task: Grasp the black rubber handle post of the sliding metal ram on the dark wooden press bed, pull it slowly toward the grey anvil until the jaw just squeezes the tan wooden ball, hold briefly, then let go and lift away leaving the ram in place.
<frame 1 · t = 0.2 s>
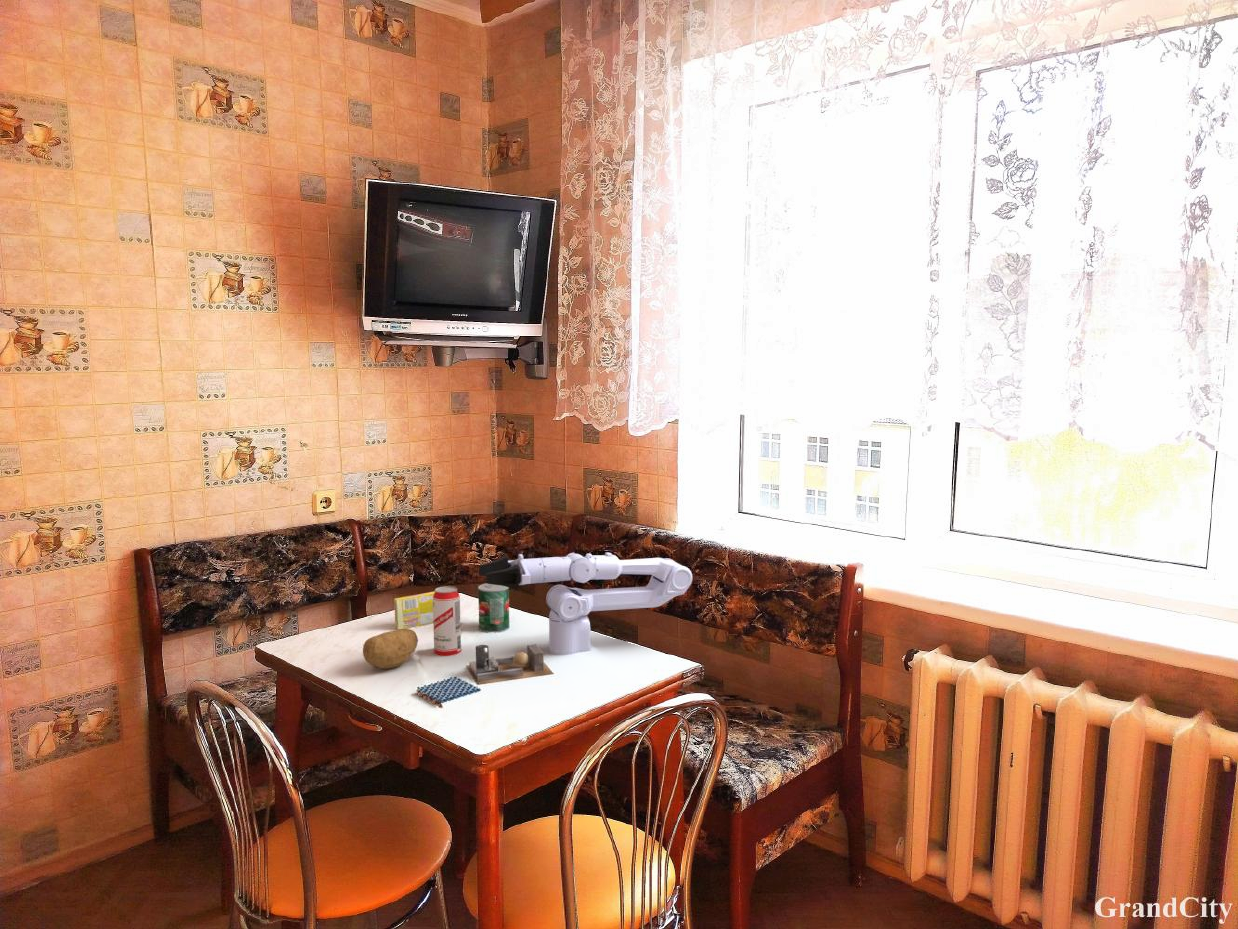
hand: (482, 574, 193), 21 cm above the table, tool horizontal, fingers open, 7 cm apart
walnut: (521, 668, 190), point 1 cm above the table, touching press bed
canned tomato: (494, 628, 222), on the table
press bed: (509, 674, 189), on the table
ram: (484, 659, 187), point 4 cm above the table, slide at 0.0 cm
woven mat: (448, 697, 178), on the table
candy box: (425, 624, 225), on the table
beer can: (447, 656, 201), on the table
potato: (392, 666, 195), on the table
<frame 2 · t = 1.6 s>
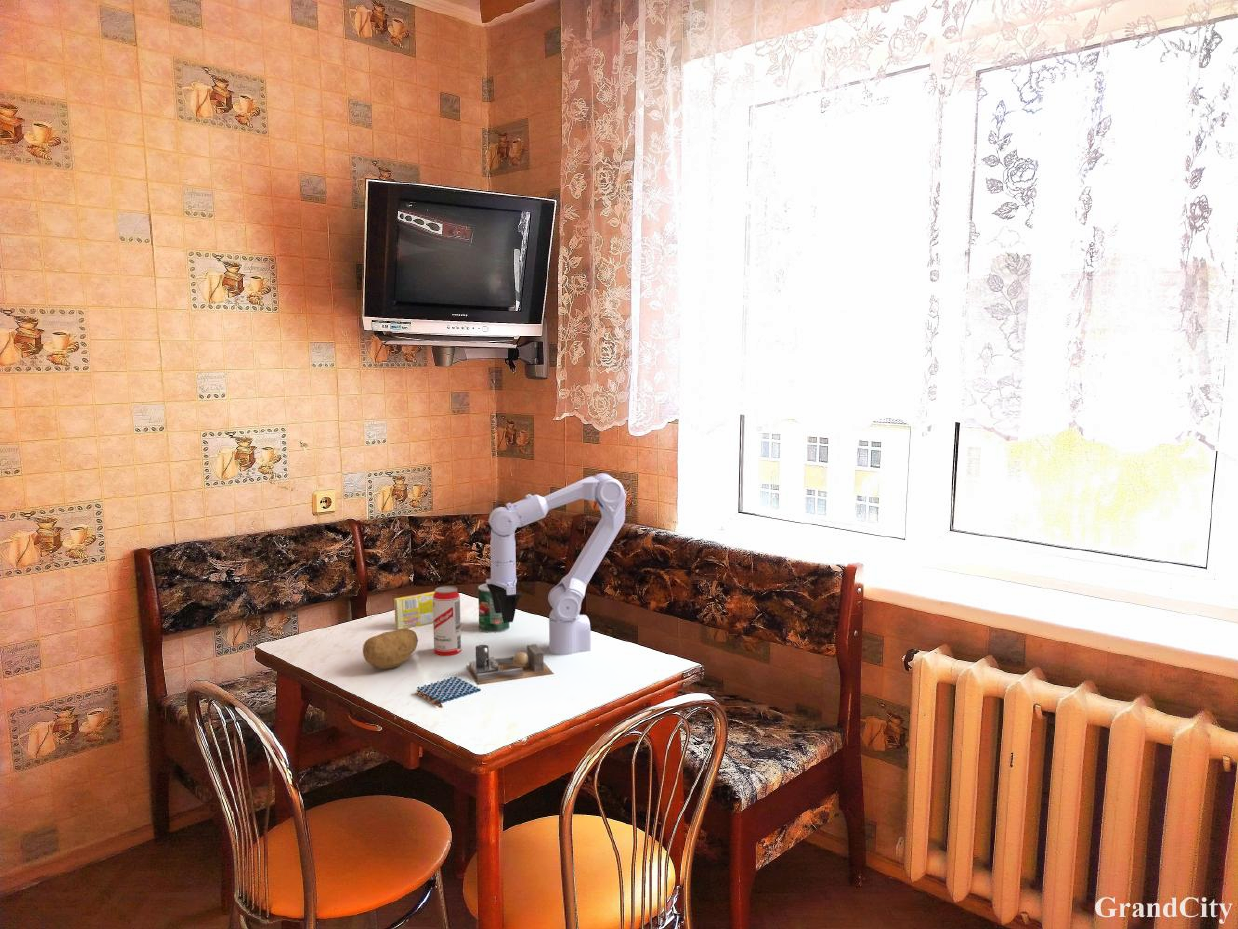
hand: (504, 617, 198), 10 cm above the table, tool pointing down, fingers open, 7 cm apart
nothing on the table moved.
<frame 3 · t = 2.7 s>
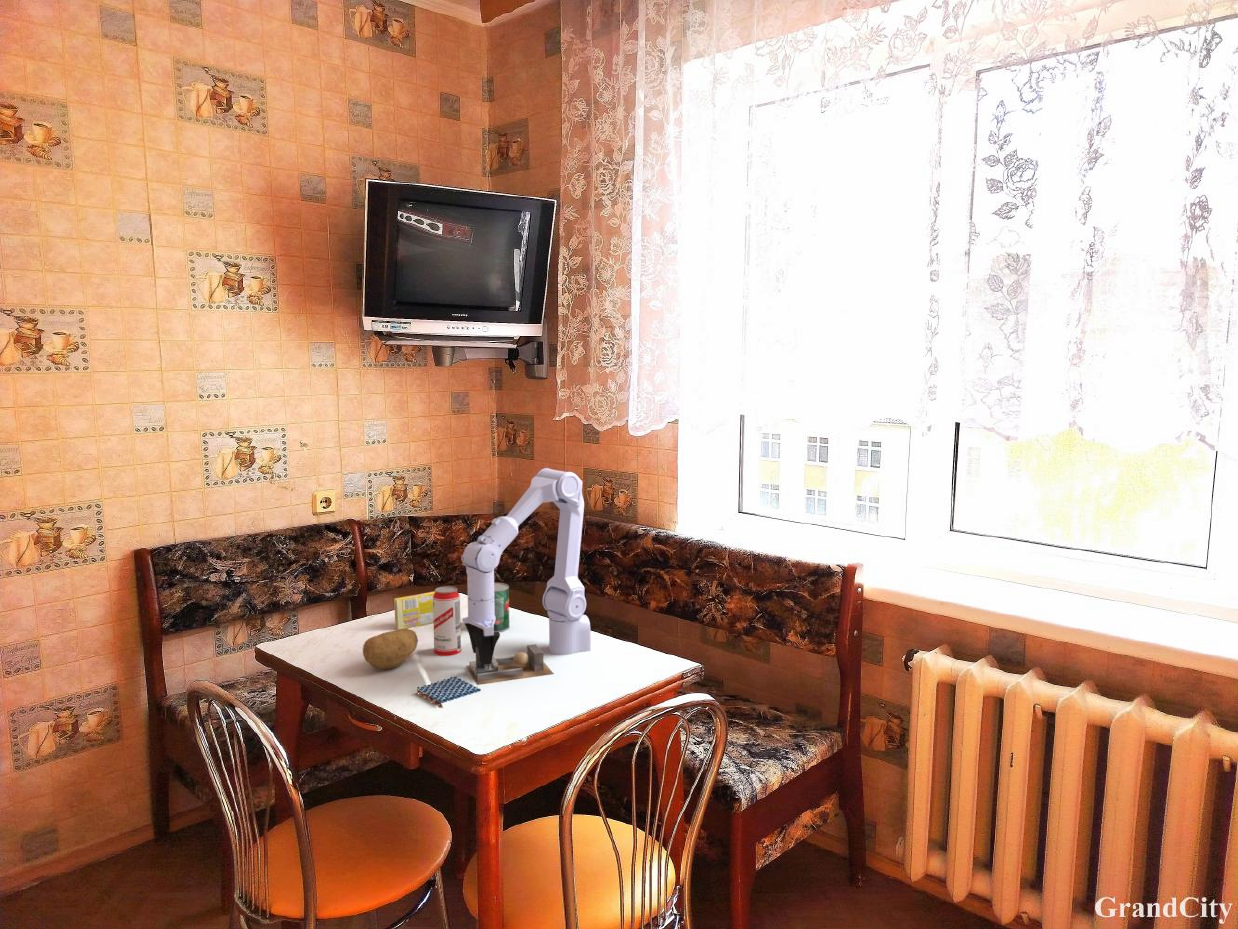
hand: (482, 658, 187), 5 cm above the table, tool pointing down, fingers open, 7 cm apart
nothing on the table moved.
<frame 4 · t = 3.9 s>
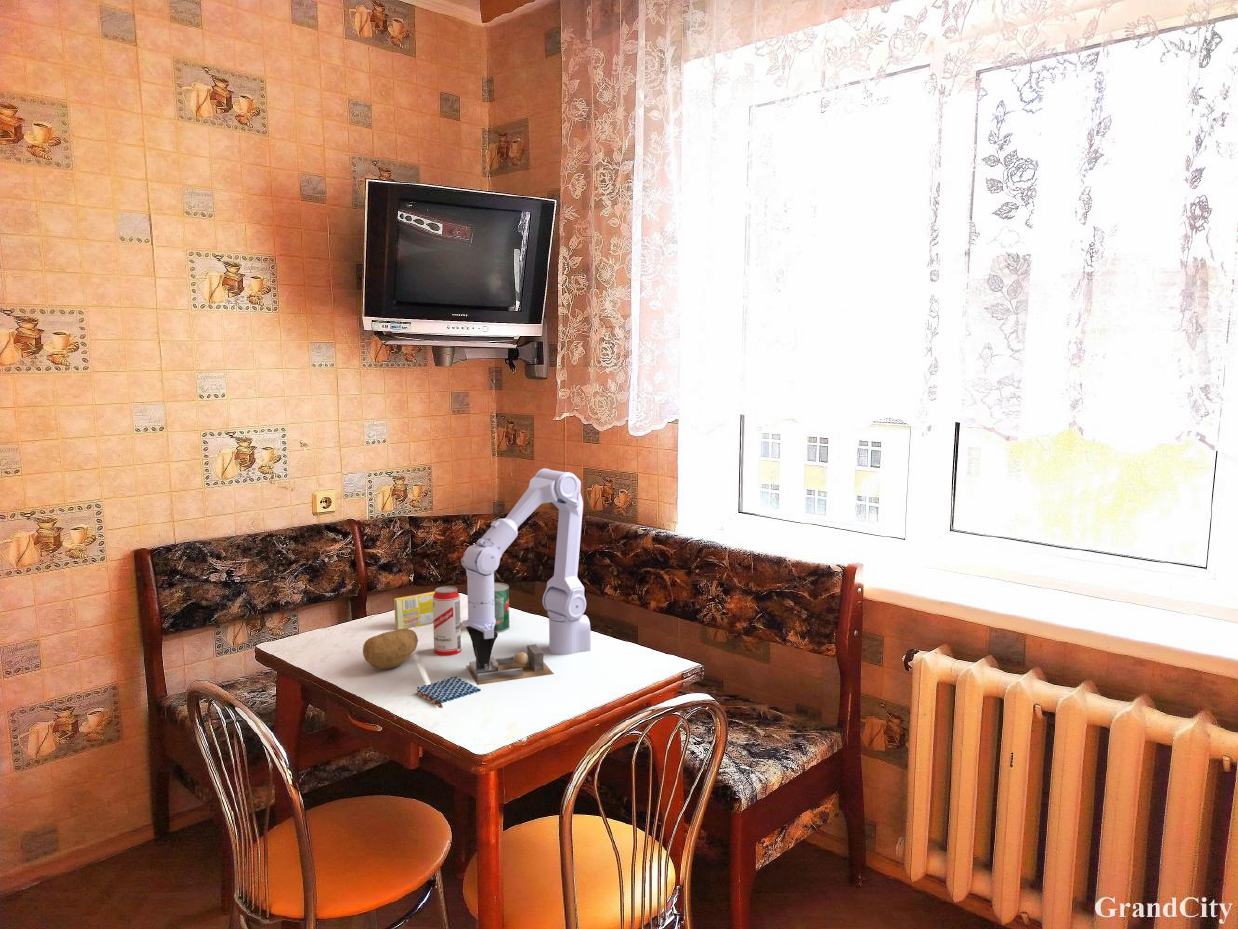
hand: (482, 660, 187), 4 cm above the table, tool pointing down, fingers closed on ram, 3 cm apart
ram: (484, 659, 187), point 4 cm above the table, slide at 0.0 cm, touching gripper
everything else where it was.
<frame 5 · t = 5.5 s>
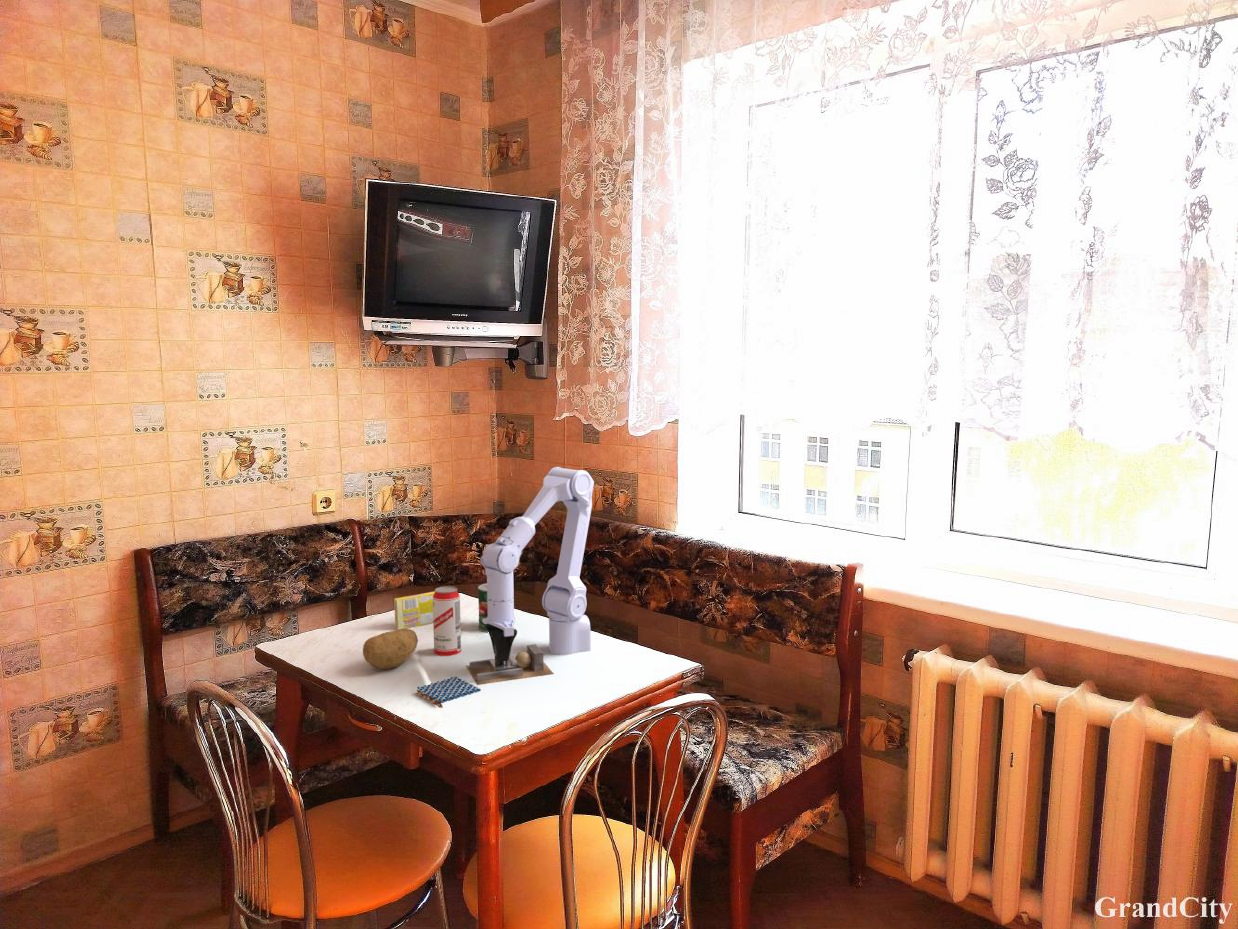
hand: (501, 658, 188), 4 cm above the table, tool pointing down, fingers closed on ram, 3 cm apart
walnut: (521, 667, 190), point 1 cm above the table, tilted 14°, touching press bed
ram: (503, 657, 188), point 4 cm above the table, slide at 4.2 cm, touching gripper
everything else where it was.
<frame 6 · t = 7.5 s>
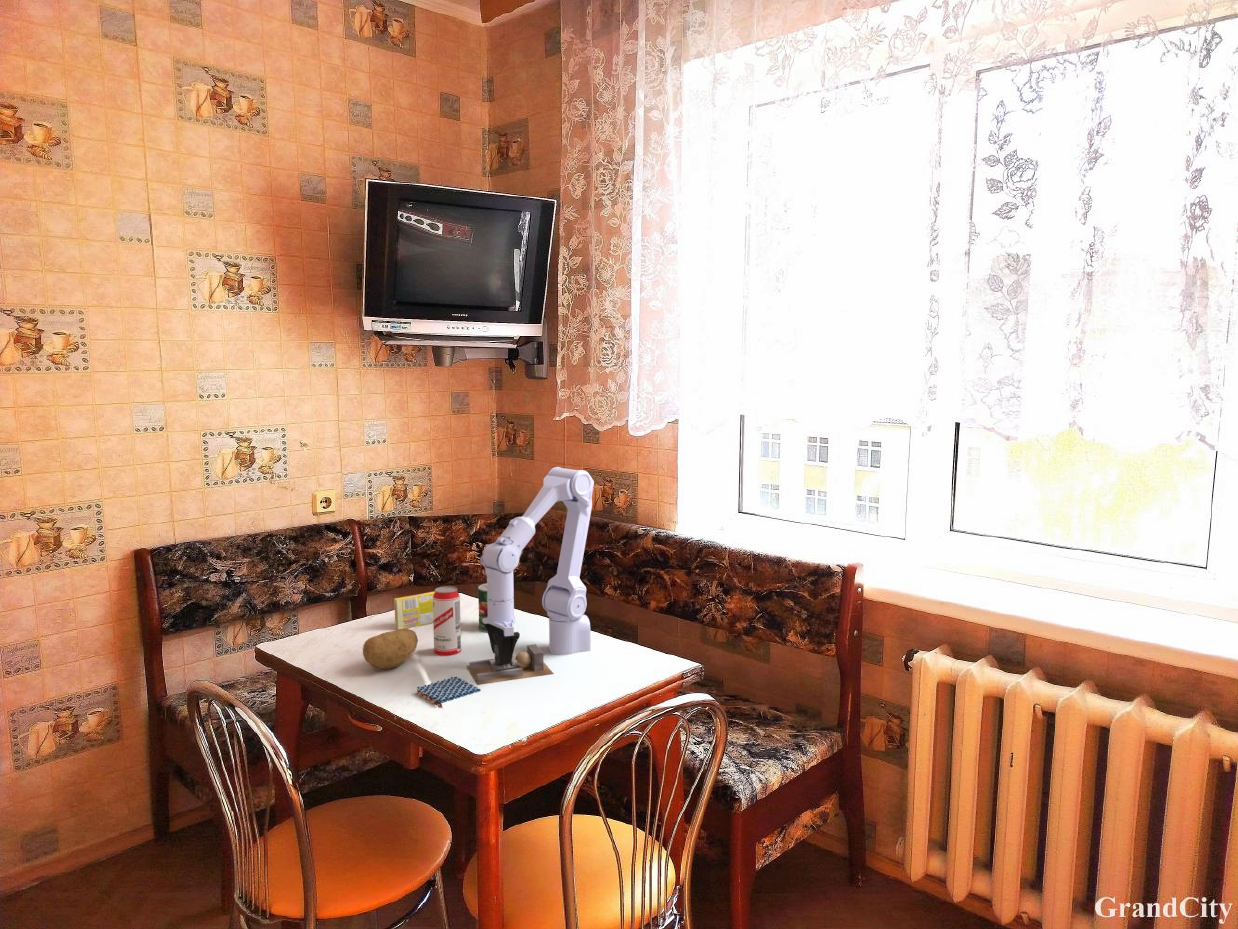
hand: (501, 658, 188), 4 cm above the table, tool pointing down, fingers open, 7 cm apart
ram: (503, 657, 188), point 4 cm above the table, slide at 4.2 cm
everything else where it was.
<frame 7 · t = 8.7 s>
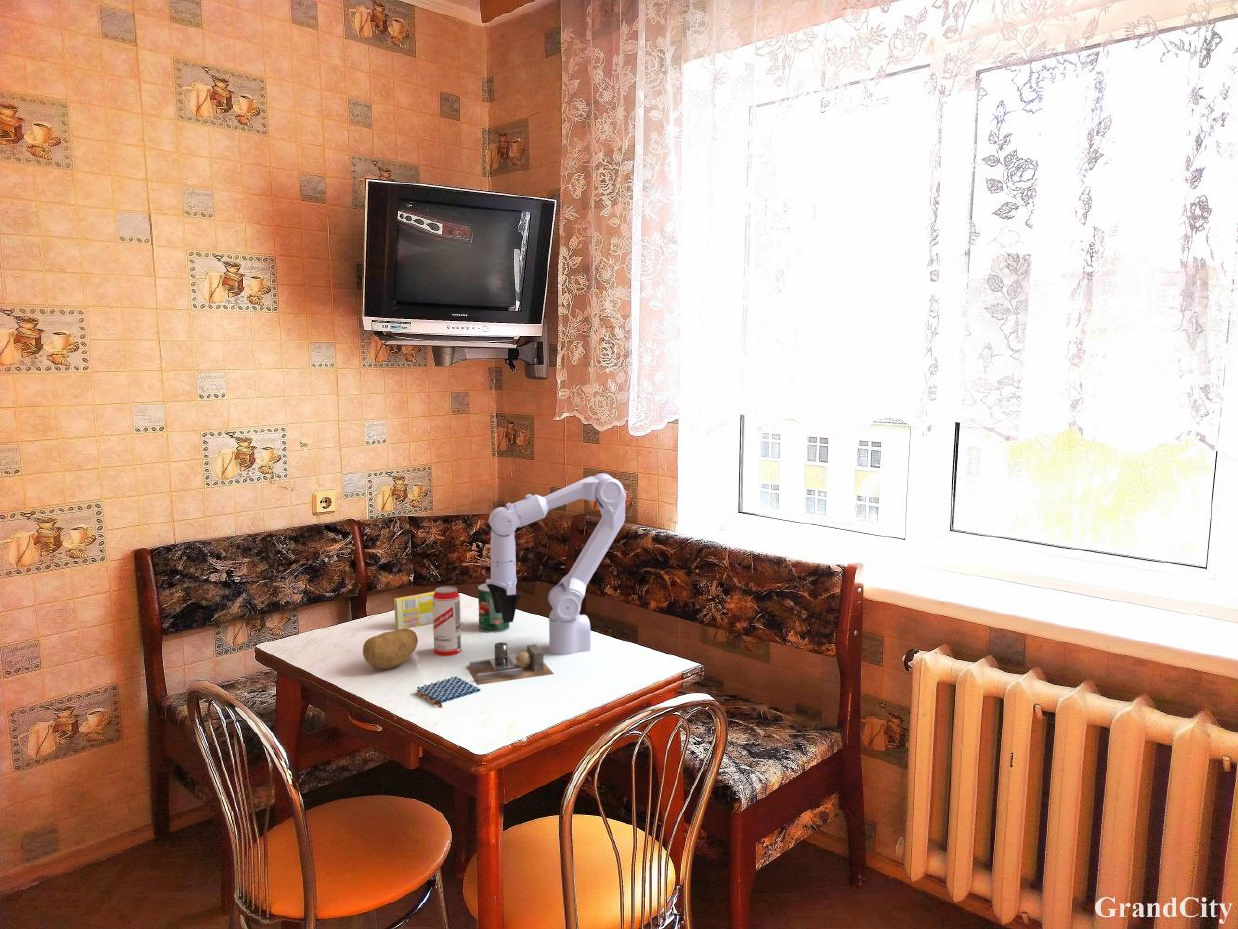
hand: (504, 617, 198), 10 cm above the table, tool pointing down, fingers open, 7 cm apart
nothing on the table moved.
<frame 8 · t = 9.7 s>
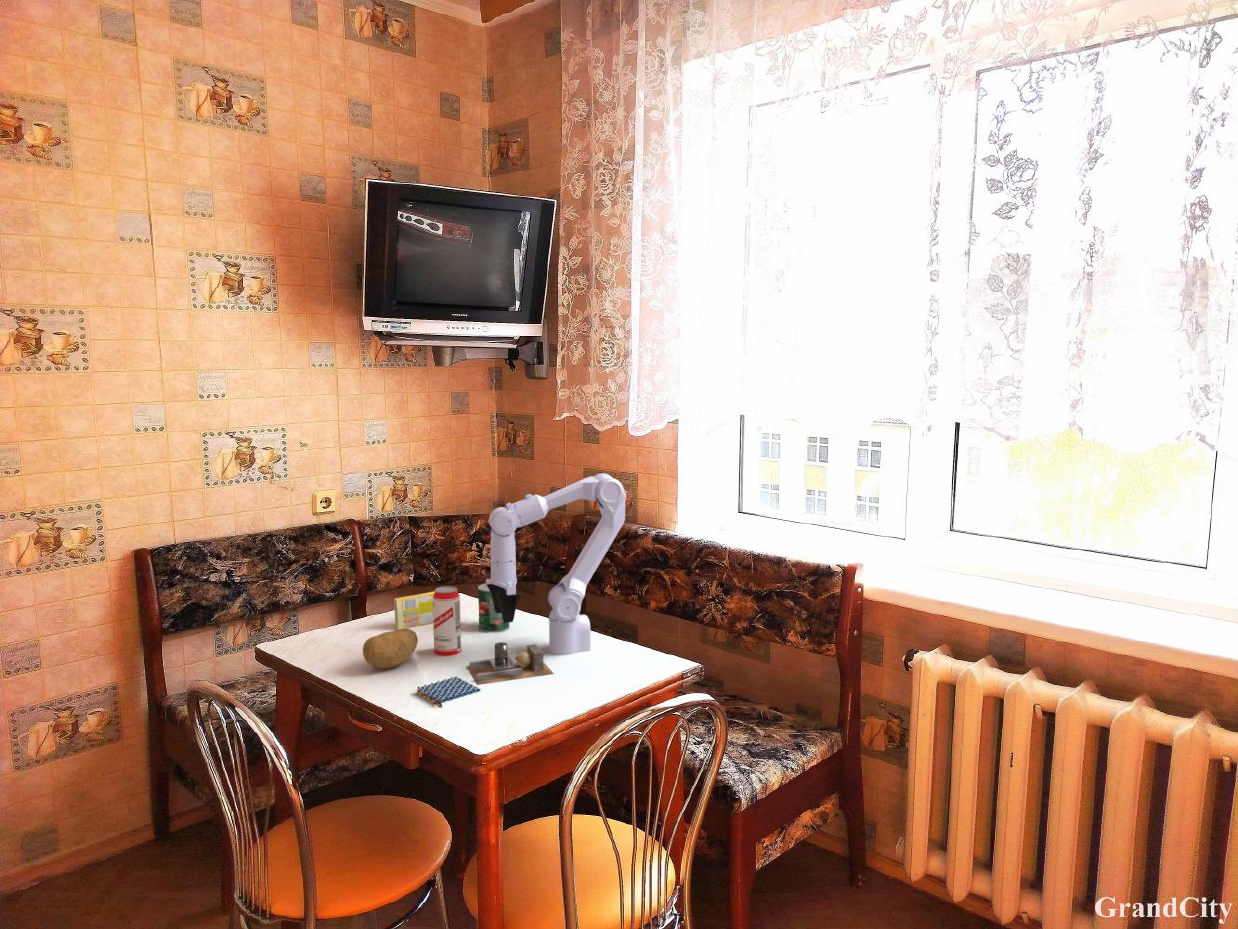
hand: (504, 617, 198), 10 cm above the table, tool pointing down, fingers open, 7 cm apart
nothing on the table moved.
at the end: ram slide at 4.2 cm; the gripper is holding nothing; walnut 0.1 cm from the target spot, point 1.1 cm above the table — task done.
